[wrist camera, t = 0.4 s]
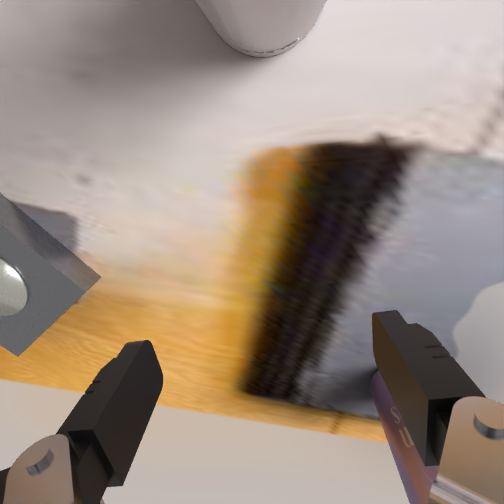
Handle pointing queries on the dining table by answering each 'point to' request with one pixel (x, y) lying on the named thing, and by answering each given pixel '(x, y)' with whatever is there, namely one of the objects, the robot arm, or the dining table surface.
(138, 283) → the dining table surface
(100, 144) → the dining table surface
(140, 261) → the dining table surface
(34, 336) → the grey coaster with tab
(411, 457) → the beverage can
